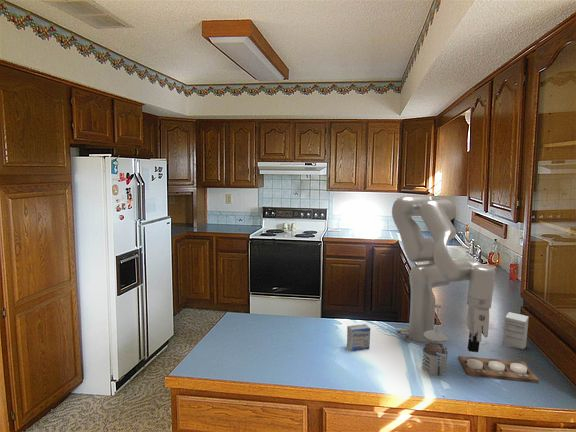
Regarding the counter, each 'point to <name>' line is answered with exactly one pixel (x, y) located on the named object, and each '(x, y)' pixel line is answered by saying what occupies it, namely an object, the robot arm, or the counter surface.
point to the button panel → (497, 374)
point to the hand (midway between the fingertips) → (472, 350)
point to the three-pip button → (474, 364)
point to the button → (496, 366)
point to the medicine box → (358, 337)
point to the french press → (435, 350)
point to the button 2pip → (518, 368)
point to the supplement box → (515, 330)
